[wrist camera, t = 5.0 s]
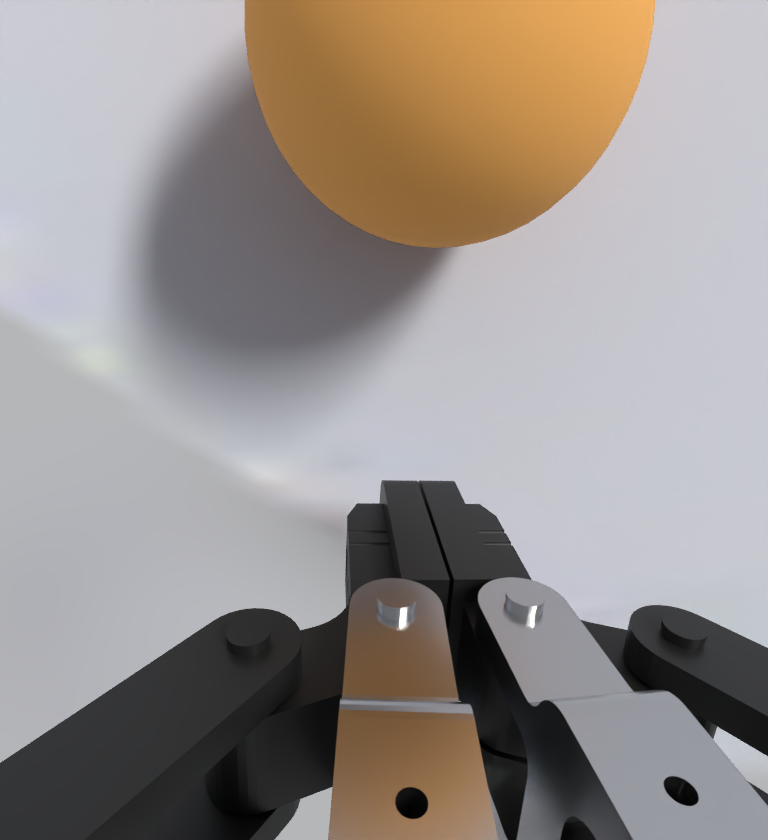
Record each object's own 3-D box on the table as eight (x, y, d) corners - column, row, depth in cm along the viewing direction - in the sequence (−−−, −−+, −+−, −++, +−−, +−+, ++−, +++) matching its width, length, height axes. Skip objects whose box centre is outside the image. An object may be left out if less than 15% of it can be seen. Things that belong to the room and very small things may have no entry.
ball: (616, 99, 12) (867, -22, 6) (410, 301, 13) (466, 354, 7) (426, -171, 10) (531, -668, 5) (207, 83, 11) (73, -67, 6)
